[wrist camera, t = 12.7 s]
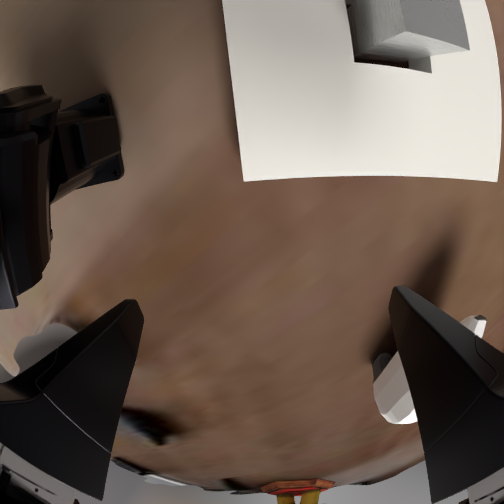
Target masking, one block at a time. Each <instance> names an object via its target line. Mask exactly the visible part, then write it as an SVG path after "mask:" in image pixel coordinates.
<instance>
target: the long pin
mask: <svg viewBox="0 0 504 504" xmlns="http://www.w3.org/2000/svg"><path fill="white" fill-rule="evenodd" d="M347 15H348V21H349V27H350V33H351V40H352V48H353V56H354V58H362V59H372V60H380V61H387V62H394V63H400V62H405V61H409V60H414V59H419V58H424V57H429V56H435V55H441V54H447V53H454V52H462V51H470V47H469V41H468V35H467V30H466V25H465V20H464V16H463V11H462V7H461V4H460V0H356V1H355V2H354V3H353V4H352V5H351V6H350V7H349V8H348V9H347Z"/></svg>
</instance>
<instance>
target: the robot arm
mask: <svg viewBox="0 0 504 504" xmlns="http://www.w3.org/2000/svg"><path fill="white" fill-rule="evenodd" d="M103 98H105V102H104V103H103V102H102V99H103ZM60 105H61V99H55V98H53V96H47V94H45V92H44V90H43V88H42V85H30V86H21V87H15V88H10V89H7V90H4V91H1V92H0V309H10V308H16V307H18V301H17V297H16V296H18V295H20V294H22V293H23V292H25V291H27V290H29V289H30V288H32V287H33V286H34V285H36V284H37V283H38V282H39V281H40V280H41V279H42V272H43V271H44V269H45V267H46V265H47V263H48V262H49V260H50V252H51V243H50V242H51V240H52V238H53V233H52V229H51V218H50V205H51V204H52V203H54V202H56V201H57V200H59V199H60V198H62V197H63V196H65V195H67V194H68V193H70V192H72V191H73V190H76V189H79V188H83V187H88V186H92V185H96V184H100V183H105V182H109V181H114V180H118V179H120V178H121V177H122V176H123V175H124V168H123V164H122V159H121V154H120V151H121V147H120V141H119V136H118V130H117V125H116V119H115V117H114V115H113V109H112V102H111V97H110V95H109V94H107V93H104V94H100V95H97V96H95V97H92V98H90V99H87V100H85V101H82V102H80V103H78V104H75V105H73V106H71V107H69V108H67V109H64V110H62V111H60V112H58V109H60ZM57 112H58V113H57ZM116 170H117V171H118V172H119V175H117V174H116V172H115V171H116ZM389 314H390V319H391V323H392V327H393V332H394V336H395V341H396V346H397V349H398V353H399V356H400V359H401V362H402V366H403V369H404V372H405V376H406V379H407V383H408V386H409V390H410V393H411V397H412V401H413V405H414V409H415V413H416V417H417V421H418V425H419V430H420V434H421V439H422V444H423V449H424V452H425V453H424V455H425V461H426V467H427V473H428V479H429V487H430V495H431V502H432V504H434V503H436V502H439V501H441V500H443V499H446V498H448V497H450V496H453V495H455V494H457V493H459V492H461V491H463V490H465V489H467V491H468V497H469V498H467V499H465V500H463V501H461V502H459V504H504V353H502V352H500V351H499V350H497V349H496V348H494V347H493V346H491V345H490V344H489V343H487V342H486V341H484V340H483V339H482V338H480V337H479V336H478V335H475V333H473V332H472V331H471V330H469V329H468V328H466V327H465V326H464V325H462V324H461V323H459V322H458V321H457V320H455V319H454V318H452V317H451V316H449V315H448V314H447V313H445V312H444V311H442V310H441V309H439V308H438V307H436V306H435V305H433V304H432V303H430V302H429V301H427V300H426V299H424V298H423V297H421V296H420V295H418V294H417V293H415V292H414V291H412V290H411V289H409V288H408V287H406V286H395V287H394V288H393V290H392V294H391V298H390V302H389ZM143 324H144V317H143V314H142V312H141V309H140V307H139V305H138V302H137V301H136V300H134V299H126V300H124V301H122V302H121V303H119V304H118V305H117V306H115V307H114V308H112V309H111V310H109V311H108V312H106V313H105V314H104V315H102V316H101V317H99V318H98V319H97V320H95V321H94V322H92V323H91V324H90V325H88V326H87V327H85V328H84V329H83V330H81V331H80V332H78V333H77V334H76V335H74V336H73V337H72V338H70V339H69V340H67V341H66V342H65V343H63V344H62V345H61V346H59V347H58V349H57V348H56V349H55V350H54V351H52V352H51V353H50V354H48V355H47V356H46V357H44V358H43V359H41V360H40V361H38V362H37V363H35V364H34V365H32V366H31V367H29V368H28V369H26V370H25V371H23V372H22V373H20V374H18V375H17V376H15V377H14V378H12V379H11V380H9V381H7V382H4V383H0V504H79V502H78V500H77V499H75V496H76V493H77V490H78V491H80V492H82V493H84V494H86V495H88V496H91V497H93V498H95V499H98V500H100V501H102V499H103V495H104V489H105V483H106V477H107V472H108V467H109V462H110V457H111V452H112V447H113V443H114V439H115V434H116V430H117V426H118V422H119V418H120V414H121V410H122V406H123V403H124V399H125V395H126V392H127V388H128V385H129V381H130V378H131V374H132V371H133V368H134V364H135V361H136V357H137V353H138V348H139V343H140V338H141V333H142V329H143Z"/></svg>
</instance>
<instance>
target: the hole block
mask: <svg viewBox="0 0 504 504" xmlns="http://www.w3.org/2000/svg"><path fill="white" fill-rule="evenodd" d="M355 1H356V0H222V3H223V11H224V20H225V28H226V36H227V45H228V53H229V62H230V70H231V78H232V87H233V95H234V103H235V112H236V120H237V128H238V137H239V145H240V154H241V162H242V170H243V179H244V182H245V181H256V180H269V179H284V178H302V177H325V176H420V177H442V178H458V179H471V180H482V181H492V182H497V178H498V170H499V160H500V147H501V89H500V77H499V67H498V60H497V53H496V47H495V41H494V36H493V31H492V26H491V22H490V18H489V14H488V10H487V7H486V3H485V0H460V4H461V7H462V11H463V16H464V20H465V25H466V30H467V35H468V41H469V47H470V51H462V52H454V53H447V54H441V55H435V56H429V57H424V58H419V59H414V60H409V61H408V63H409V69H405V68H399V67H393V66H385V65H377V64H368V63H356V62H354V56H353V48H352V40H351V33H350V27H349V21H348V15H347V10H346V4H351V5H352V4H353V3H354V2H355Z"/></svg>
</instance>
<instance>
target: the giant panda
mask: <svg viewBox="0 0 504 504" xmlns="http://www.w3.org/2000/svg"><path fill="white" fill-rule="evenodd" d="M486 321H487V319H486V318H485V317H483V316H481V315H479V316H474V315H471V316H468V317H467V318H465V319H464V320H462V321H461V322H459V323H461V324H462V325H464V326H465V327H466V328H468V329H469V330H471V331H472V332H473V333H475V335H478V336H479V337H480V338H482V335H483V332H484V328H485V324H486ZM389 360H390V354H389V353H381V354H380V355H379V356H378V357H377V358H376V360H375V361H374V363H373V365H372V367H373V374H374V380H373V389H374V398H375V401H376V403H377V406H378V409H379V411H380V414H381V415H382V416H383V417H384V418H385V419H386V420H387V421H388V422H391V423H394V424H409V423H413V422H416V421H417V417H416V413H415V409H414V405H413V401H412V397H411V393H410V390H409V386H408V383H407V379H406V376H405V372H404V369H403V366H402V362H401V359H400V356H399V353H398V351H397V353H396V354H395V355H394V357H393V358H392V359H391V361H390V362H389Z"/></svg>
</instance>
